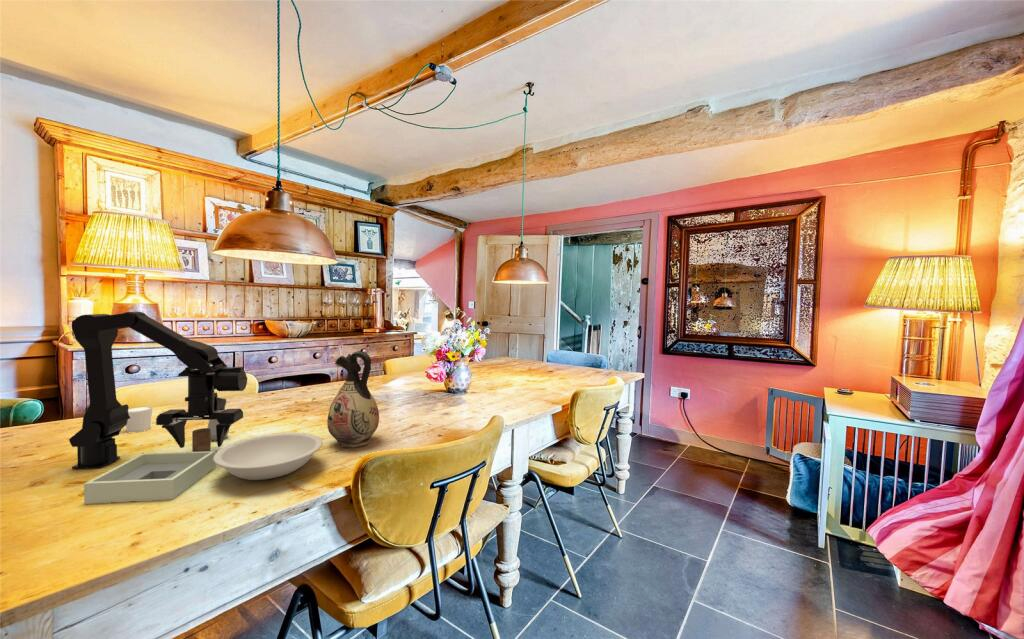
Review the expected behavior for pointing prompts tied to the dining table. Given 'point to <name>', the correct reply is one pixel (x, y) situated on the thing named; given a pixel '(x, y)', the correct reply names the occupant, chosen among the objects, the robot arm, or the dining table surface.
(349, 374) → the ceramic jug
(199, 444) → the peg
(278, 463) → the soup bowl
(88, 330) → the robot arm
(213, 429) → the salt shaker
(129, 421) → the white cube
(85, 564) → the dining table surface
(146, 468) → the tray
